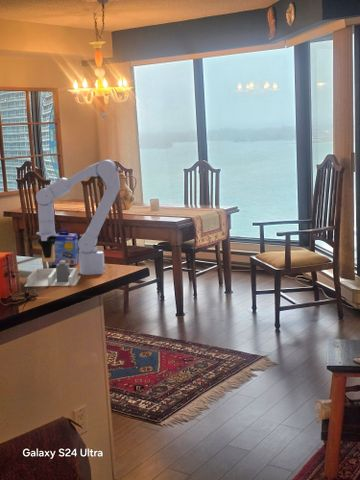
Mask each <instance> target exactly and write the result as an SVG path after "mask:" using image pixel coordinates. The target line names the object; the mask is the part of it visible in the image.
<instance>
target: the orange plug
mask: <svg viewBox="0 0 360 480" xmlns="http://www.w3.org/2000/svg"><path fill="white" fill-rule="evenodd" d="M41 257H42V259H41V260H42V263H53V262H54V261H55V246H54V244H52V250H51V257H50V258H45V257H44V254H43V250H42V249H41Z"/></svg>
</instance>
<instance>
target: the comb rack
mask: <svg viewBox="0 0 360 480" xmlns="http://www.w3.org/2000/svg"><path fill="white" fill-rule="evenodd" d="M69 273H70V275H69V277H68V278H69V281H68V282H57V274H56V267H54V268H34V269H33V270H32V272H31V273H30V274H29V275H28V276H27V277H26V283H25V285H24V286H23V287H57V286H63V287H64V286H65V287H66V286H76V285H77V284H78V282H79V280H80V279H81V276H82V275H78V274H79V273H78V267H69Z"/></svg>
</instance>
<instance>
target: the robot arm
mask: <svg viewBox="0 0 360 480" xmlns="http://www.w3.org/2000/svg"><path fill="white" fill-rule="evenodd" d="M119 174H120V173H119V168H118V167H117V165H116V163H115V162H114V161H113V160H112V159H109V158H107V159H103V160H102V161H98V162H96V163H94V164H91V165H88V166H87V167H85V168H84V169H82V170H80V171H78V172H77V173H75V174H74V175H72V176H70V177H69V178H68V177H67V178H66V177H57V178H56V179H55V180H56V181H54V182H52V183H51V184H46V185H45V187H44V188H41V189H39V190H38V191H37V192H36V194H35V200H36V203H37V214H38V215H37V216H38V217H37V218H38V227H39V229H38V232H36V233H35V234H36V235H38V236H39V237H40V238H39V239H38V241H37V242H38V243H39V245H40V247H41V251H42V250H43V254H44V257H45V258H50V257H51V250H52V244H55V240H56V238H57V236H52V235H55V234H57V233H56V232H57V231H56V225H55V224H56V222H55V209H54V200H57V199H59V198H61V197H62V196H64V195H66V194H68V193H69V192H71V191H72V188H73V186H75V185H76V184H79V183H80V182H82V181H84V180H86V179H88V178H90V177H100V178H101V179H102V180H103V182H104V184H105V188H106V189H105V191H104V193H103V195H102V197H101V200H100V201H99V204H98V206H97V208H96V209H95V212H94V214H93V216H92V218H91V220H90V223H89V225H88V226H87V229H86V231H85V232H84V233H83V234H82V236H81V237H80V238H79V239H78V254H79V263H78V265H79V274H80V275H84V276H85V275H87V276H90V275H104V273H105V271H106V266H105V252H104V251H103V250H99V248H98V247H97V246H96V245H97V244H98V237H99V234H100V231H101V229H102V227H103V225H104V223H105V221H106V219H107V217H108V214H109V213H110V210H111V209H112V207H113V204H114V202H115V200H116V198H117V196H118V194H119V192H120V189H121V181H120V175H119Z"/></svg>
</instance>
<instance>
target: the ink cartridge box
mask: <svg viewBox="0 0 360 480" xmlns="http://www.w3.org/2000/svg"><path fill="white" fill-rule="evenodd" d="M58 232H59V233H56V234H55V235H52V236H57V238H56V240H55V244H54V246H55V261H54V262H52V265H53V266H56V265H57V264H58V263H59V261H62V260H65V261H66V263H69V266H76V265H77V264H79V247H78V241H79V239H78V237H79V236H78V233H69V230H68V229H58Z"/></svg>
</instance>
